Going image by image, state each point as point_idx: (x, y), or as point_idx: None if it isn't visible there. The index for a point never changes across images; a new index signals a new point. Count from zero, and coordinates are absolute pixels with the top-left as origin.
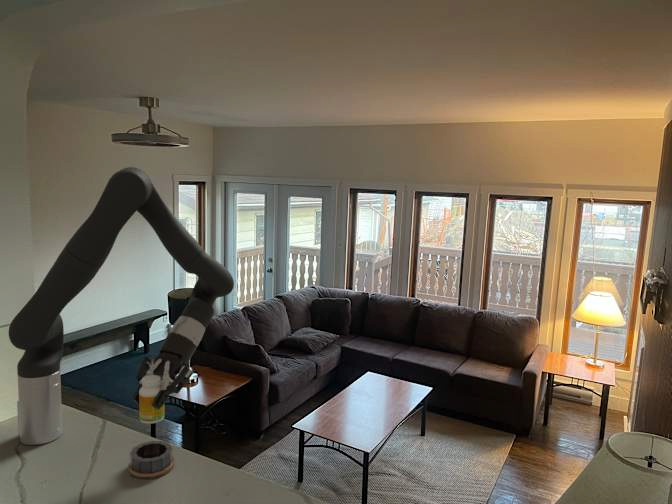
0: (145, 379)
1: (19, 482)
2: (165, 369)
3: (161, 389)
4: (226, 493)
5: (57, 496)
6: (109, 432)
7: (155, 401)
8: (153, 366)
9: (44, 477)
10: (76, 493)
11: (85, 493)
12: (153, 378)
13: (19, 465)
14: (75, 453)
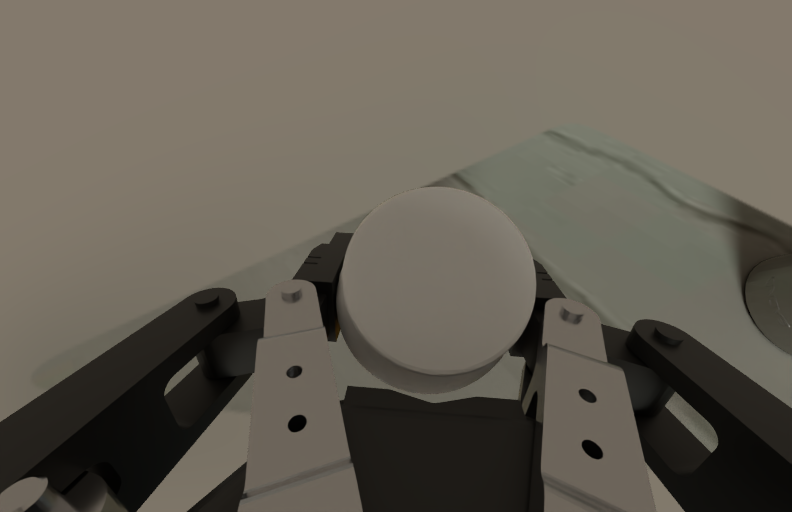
0: (469, 220)
1: (607, 157)
2: (326, 441)
3: (340, 308)
4: None
5: (498, 159)
6: None
7: (336, 240)
8: (624, 469)
9: (584, 188)
10: (475, 180)
11: (459, 187)
12: (415, 277)
13: (678, 194)
14: (630, 286)
